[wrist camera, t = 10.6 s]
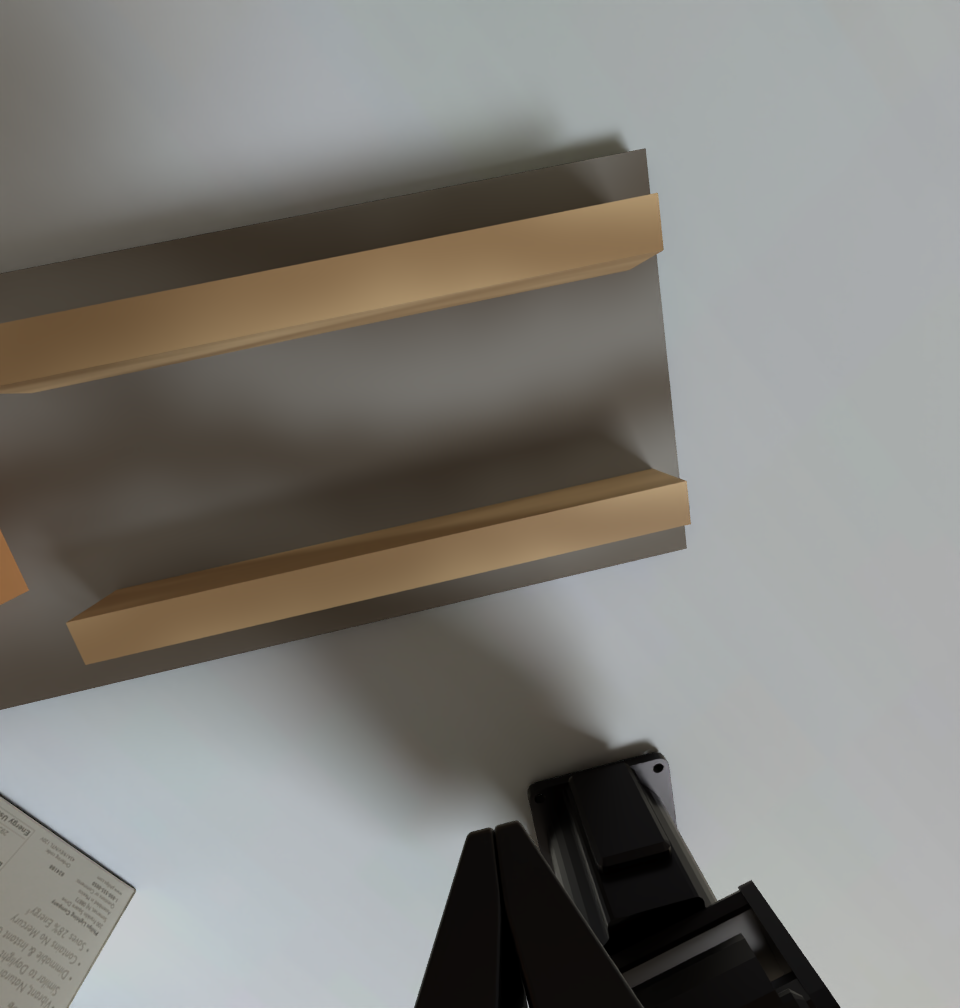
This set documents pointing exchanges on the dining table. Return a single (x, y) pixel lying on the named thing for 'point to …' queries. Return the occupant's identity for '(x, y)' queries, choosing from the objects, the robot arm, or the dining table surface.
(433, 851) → the dining table surface
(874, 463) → the dining table surface
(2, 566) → the orange block
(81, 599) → the chute
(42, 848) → the light bulb box
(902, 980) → the dining table surface
